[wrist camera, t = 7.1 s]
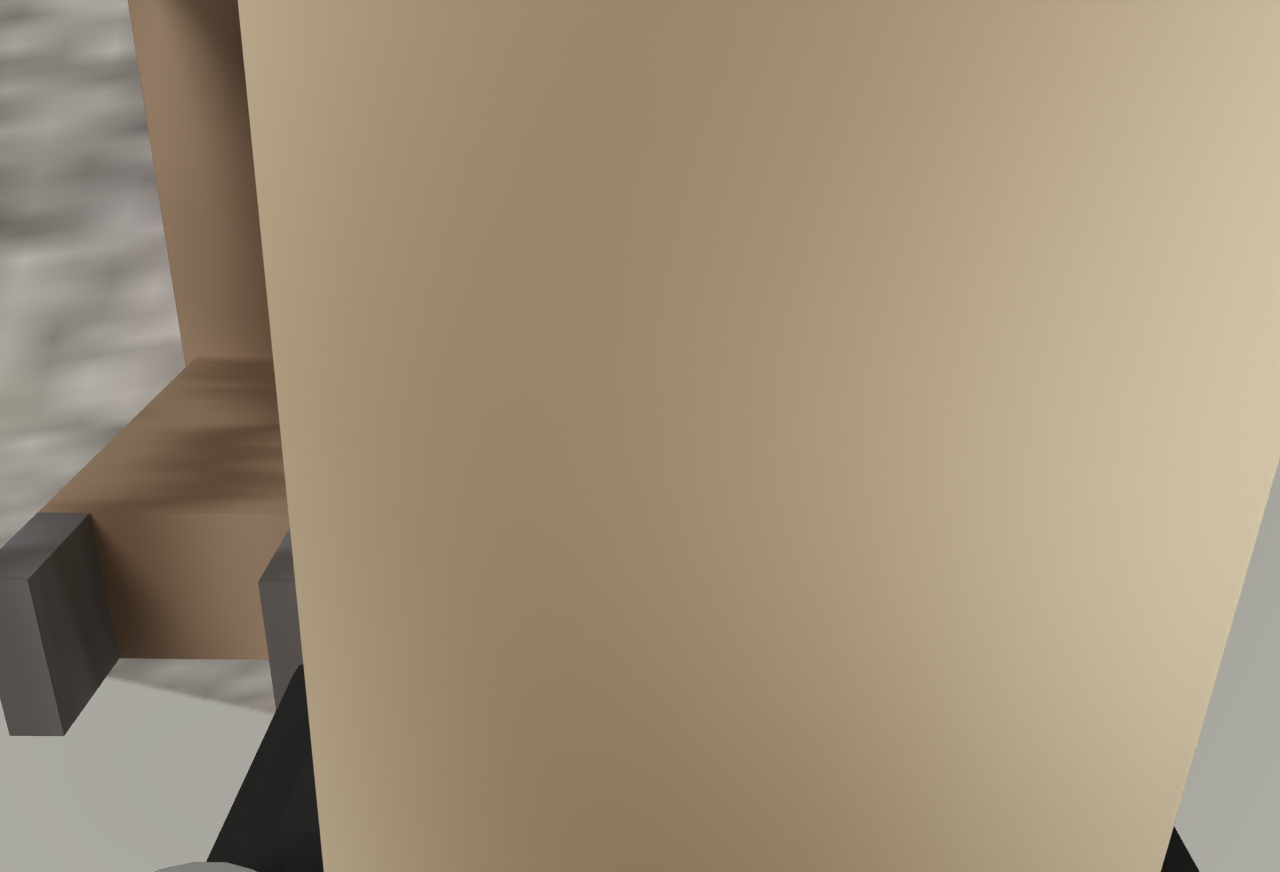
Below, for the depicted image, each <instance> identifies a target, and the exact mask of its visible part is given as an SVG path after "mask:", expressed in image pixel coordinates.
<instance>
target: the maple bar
mask: <svg viewBox="0 0 1280 872" xmlns="http://www.w3.org/2000/svg"><path fill="white" fill-rule="evenodd" d="M238 8H239V18H240V28H241V38H242V49H243V59H244V69H245V79H246V89H247V99H248V109H249V119H250V129H251V140H252V150H253V160H254V170H255V180H256V190H257V200H258V210H259V220H260V231H261V241H262V251H263V261H264V271H265V281H266V291H267V301H268V311H269V322H270V332H271V342H272V352H273V362H274V372H275V382H276V392H277V402H278V413H279V423H280V433H281V443H282V453H283V463H284V473H285V483H286V494H287V504H288V514H289V524H290V534H291V544H292V554H293V564H294V574H295V585H296V595H297V605H298V615H299V625H300V635H301V645H302V655H303V665H304V676H305V686H306V696H307V706H308V716H309V726H310V736H311V746H312V756H313V767H314V777H315V787H316V797H317V807H318V817H319V827H320V837H321V848H322V858H323V868H324V872H1161V869H1162V865H1163V862H1164V858H1165V855H1166V851H1167V848H1168V844H1169V841H1170V838H1171V834H1172V831H1173V827H1174V824H1175V820H1176V816H1177V813H1178V809H1179V806H1180V803H1181V799H1182V796H1183V792H1184V789H1185V785H1186V782H1187V778H1188V775H1189V771H1190V768H1191V765H1192V761H1193V757H1194V754H1195V750H1196V747H1197V743H1198V740H1199V737H1200V733H1201V730H1202V726H1203V723H1204V719H1205V716H1206V712H1207V709H1208V705H1209V702H1210V698H1211V695H1212V691H1213V688H1214V685H1215V681H1216V678H1217V674H1218V670H1219V667H1220V663H1221V660H1222V657H1223V653H1224V650H1225V646H1226V643H1227V639H1228V636H1229V632H1230V629H1231V625H1232V622H1233V619H1234V615H1235V612H1236V608H1237V605H1238V601H1239V598H1240V594H1241V591H1242V587H1243V583H1244V580H1245V577H1246V573H1247V570H1248V566H1249V563H1250V559H1251V556H1252V552H1253V549H1254V545H1255V542H1256V539H1257V535H1258V532H1259V528H1260V525H1261V521H1262V518H1263V514H1264V511H1265V507H1266V504H1267V500H1268V497H1269V493H1270V490H1271V486H1272V483H1273V480H1274V476H1275V472H1276V469H1277V466H1278V462H1279V459H1280V0H238Z"/></svg>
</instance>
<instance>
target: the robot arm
mask: <svg viewBox="0 0 1280 872" xmlns="http://www.w3.org/2000/svg"><path fill="white" fill-rule="evenodd" d="M156 872H324V868H323V858H322V848H321V837H320V827H319V817H318V807H317V797H316V787H315V777H314V767H313V756H312V746H311V736H310V726H309V716H308V706H307V696H306V686H305V676H304V665H303V664H301V665H299V666H298V668H297V669H296V671H295V673H294V674H293V676H292V678H291V680H290V682H289V684H288V686H287V689H286V691H285V693H284V695H283V697H282V699H281V702H280V704H279V706H278V708H277V710H276V712H275V715H274V717H273V719H272V721H271V723H270V725H269V728H268V730H267V732H266V734H265V736H264V738H263V740H262V743H261V745H260V747H259V749H258V751H257V753H256V756H255V758H254V760H253V762H252V764H251V766H250V768H249V771H248V773H247V775H246V777H245V779H244V781H243V784H242V786H241V788H240V790H239V792H238V794H237V796H236V799H235V801H234V803H233V805H232V807H231V810H230V812H229V814H228V816H227V818H226V820H225V822H224V825H223V827H222V829H221V831H220V833H219V835H218V837H217V840H216V842H215V844H214V846H213V848H212V850H211V853H210V855H209V857H208V859H207V862H193V863H188V864H183V865H178V866H174V867H168V868H164V869H160V870H158V871H156ZM1161 872H1199V870H1198V868H1197V866H1196V865H1195V863H1194V861H1193V859H1192V858H1191V856H1190V854H1189V852H1188V850H1187V849H1186V847H1185V845H1184V843H1183V841H1182V840H1181V838H1180V836H1179V834H1178V833H1177V831H1176V829H1175V827H1173V831H1172V834H1171V838H1170V841H1169V844H1168V848H1167V851H1166V855H1165V858H1164V862H1163V865H1162V869H1161Z"/></svg>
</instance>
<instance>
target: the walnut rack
mask: <svg viewBox="0 0 1280 872" xmlns="http://www.w3.org/2000/svg"><path fill="white" fill-rule="evenodd" d="M128 4H129V11H130V17H131V23H132V30H133V36H134V42H135V49H136V55H137V61H138V68H139V74H140V80H141V87H142V93H143V99H144V106H145V112H146V118H147V125H148V131H149V137H150V144H151V150H152V156H153V163H154V169H155V175H156V182H157V188H158V194H159V201H160V207H161V213H162V220H163V226H164V232H165V239H166V245H167V251H168V257H169V264H170V270H171V276H172V283H173V289H174V295H175V302H176V308H177V314H178V321H179V327H180V333H181V340H182V346H183V352H184V359H185V365H186V368H185V369H184V370H183V371H182V372H181V373H180V374H179V375H178V376H177V377H176V378H175V379H174V380H173V381H172V382H171V383H170V384H169V385H168V386H166V387H165V388H164V389H163V390H162V391H161V392H160V393H159V394H158V395H157V396H156V397H155V398H154V399H153V400H152V401H151V402H150V403H149V404H148V405H147V406H146V407H145V408H144V409H143V410H142V411H141V412H140V413H139V414H138V415H137V416H136V417H135V418H134V419H133V420H132V421H131V422H130V423H129V424H128V425H127V426H126V427H125V428H124V429H123V430H122V431H121V432H120V433H119V434H118V435H116V436H115V437H114V438H113V439H112V440H111V441H110V442H109V443H108V444H107V445H106V446H105V447H104V448H103V449H102V450H101V451H100V452H99V453H98V454H97V455H96V456H95V457H94V458H93V459H92V460H91V461H90V462H89V463H88V464H87V465H86V466H85V467H84V468H83V469H82V470H81V471H80V472H79V473H78V474H77V475H76V476H75V477H74V478H73V479H72V480H71V481H70V482H69V483H67V484H66V485H65V486H64V487H63V488H62V489H61V490H60V491H59V492H58V493H57V494H56V495H55V496H54V497H53V498H52V499H51V500H50V501H49V502H48V503H47V504H46V505H45V506H44V507H43V508H42V509H41V510H40V511H39V512H38V513H37V514H36V515H35V516H34V517H33V518H32V519H31V520H30V521H29V522H28V523H27V524H26V525H25V526H24V527H23V528H22V529H21V530H20V531H18V532H17V533H16V534H15V535H14V536H13V537H12V538H11V539H10V540H9V541H8V542H7V543H6V544H5V545H4V546H3V547H2V548H1V549H0V699H1V703H2V707H3V711H4V715H5V719H6V722H7V726H8V730H9V733H10V735H11V736H64V735H65V734H66V732H67V731H68V729H69V728H70V727H71V725H72V724H73V722H74V721H75V720H76V718H77V717H78V716H79V714H80V713H81V711H82V710H83V709H84V707H85V706H86V704H87V703H88V702H89V700H90V699H91V697H92V696H93V694H94V693H95V692H96V690H97V689H98V687H99V686H100V685H101V683H102V682H103V680H104V679H105V678H106V676H107V675H108V673H109V672H110V671H111V669H112V668H113V666H114V665H115V664H116V662H117V661H118V659H119V658H157V659H257V660H269V663H270V670H271V677H272V684H273V691H274V698H275V705H276V710H277V708H278V706H279V704H280V702H281V699H282V697H283V695H284V693H285V691H286V689H287V686H288V684H289V682H290V680H291V678H292V676H293V674H294V673H295V671H296V669H297V668H298V666H299V665H301V664H303V655H302V645H301V635H300V625H299V615H298V605H297V595H296V585H295V574H294V564H293V554H292V544H291V534H290V524H289V514H288V504H287V494H286V483H285V473H284V463H283V453H282V443H281V433H280V423H279V413H278V402H277V392H276V382H275V372H274V362H273V352H272V342H271V332H270V322H269V311H268V301H267V291H266V281H265V271H264V261H263V251H262V241H261V231H260V220H259V210H258V200H257V190H256V180H255V170H254V160H253V150H252V140H251V129H250V119H249V109H248V99H247V89H246V79H245V69H244V59H243V49H242V38H241V28H240V18H239V8H238V0H128Z"/></svg>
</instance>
